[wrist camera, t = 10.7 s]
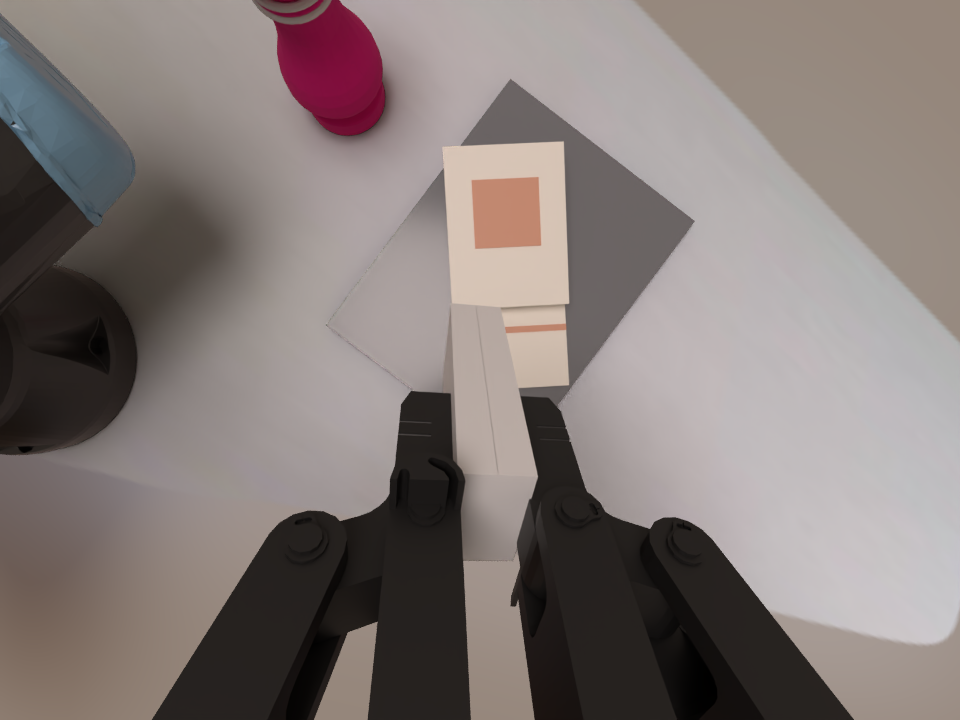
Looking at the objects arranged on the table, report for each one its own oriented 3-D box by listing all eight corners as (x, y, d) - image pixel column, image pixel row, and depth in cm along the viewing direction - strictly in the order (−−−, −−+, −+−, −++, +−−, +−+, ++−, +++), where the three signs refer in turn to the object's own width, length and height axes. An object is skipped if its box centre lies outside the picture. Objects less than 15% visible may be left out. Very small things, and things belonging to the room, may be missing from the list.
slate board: (329, 326, 39) (325, 325, 38) (509, 86, 39) (510, 79, 38) (511, 461, 39) (513, 464, 38) (688, 224, 40) (694, 221, 39)
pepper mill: (405, 75, 39) (338, -220, 19) (371, 156, 39) (269, -54, 19) (323, 40, 39) (169, -297, 19) (290, 121, 39) (99, -128, 19)
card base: (567, 384, 38) (569, 385, 38) (457, 390, 38) (457, 391, 37) (562, 299, 38) (564, 298, 37) (452, 305, 38) (452, 304, 37)
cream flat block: (569, 303, 36) (564, 140, 35) (452, 309, 36) (442, 146, 34) (565, 304, 37) (559, 148, 36) (452, 310, 37) (443, 153, 36)
